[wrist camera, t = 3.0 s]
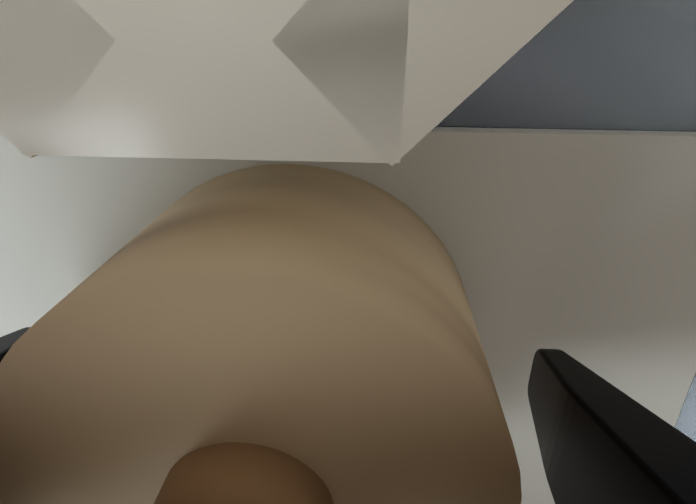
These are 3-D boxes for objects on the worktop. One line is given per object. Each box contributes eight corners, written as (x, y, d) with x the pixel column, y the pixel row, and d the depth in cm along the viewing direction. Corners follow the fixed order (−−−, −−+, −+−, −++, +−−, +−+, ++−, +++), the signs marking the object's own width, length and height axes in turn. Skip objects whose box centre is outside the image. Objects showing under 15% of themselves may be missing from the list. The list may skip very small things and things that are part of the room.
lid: (450, 458, 11) (508, 823, 6) (159, 443, 11) (-16, 775, 6) (488, 168, 8) (664, 400, 3) (98, 159, 9) (-311, 354, 3)
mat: (621, 530, 12) (628, 545, 12) (14, 494, 13) (4, 507, 13) (768, 133, 8) (787, 138, 8) (-142, 116, 9) (-163, 120, 9)
